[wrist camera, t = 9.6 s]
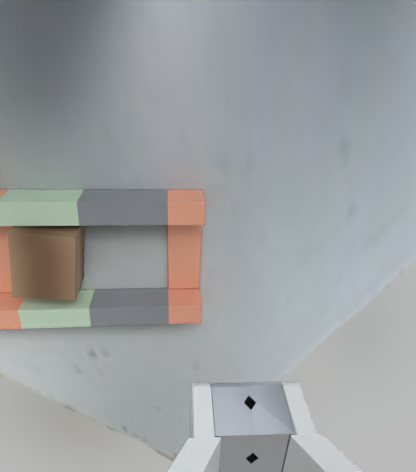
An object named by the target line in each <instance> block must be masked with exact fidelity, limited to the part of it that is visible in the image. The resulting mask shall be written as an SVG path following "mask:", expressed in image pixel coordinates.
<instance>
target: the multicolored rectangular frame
mask: <svg viewBox="0 0 416 472" xmlns="http://www.w3.org/2000/svg"><path fill="white" fill-rule="evenodd" d="M110 225H168V288H141V289H96V290H79V291H78V294H77V297H76V299H75V301H66V300H51V299H36V298H21V297H12V284H11V270H10V257H9V243H8V231H9V230H10V228H11V227H12V226H110ZM201 225H205V199H204V195H203V191H202V190H101V189H0V329H30V328H61V327H93V326H124V325H155V324H187V323H201V311H202V304H201V297H200V289H199V287H200V256H201Z"/></svg>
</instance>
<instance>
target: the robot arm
mask: <svg viewBox="0 0 416 472" xmlns="http://www.w3.org/2000/svg"><path fill="white" fill-rule="evenodd" d="M167 472H362V471H361V470H360V469H359V468H358V467H357V466H356V465H355V464H354V463H353V462H352V461H350V460H349V459H348V458H347V457H346V456H345V455H344V454H343V453H342V452H341V451H340V450H339V449H338V448H337V447H335V445H333V443H331V442H330V441H329V440H328V439H327V438H326V437H325V436H324V435H323V434H317V432H316V429H315V426H314V423H313V421H312V417H311V415H310V412H309V409H308V406H307V404H306V400H305V397H304V394H303V391H302V388H301V386H300V384H299V382H297V381H293V382H279V381H277V382H245V383H192V385H191V410H190V438H188V439H187V440H186V442H185V443H184V445H183V447H182V448H181V450H180V451H179V453H178V455H177V456H176V458H175V459H174V461H173V463H172V464H171V466H170V467H169V469H168V470H167Z"/></svg>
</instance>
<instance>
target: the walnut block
mask: <svg viewBox="0 0 416 472" xmlns="http://www.w3.org/2000/svg"><path fill="white" fill-rule="evenodd" d="M84 227H85V226H12V227H11V228H10V230H9V231H8V243H9V257H10V270H11V284H12V297H21V298H36V299H51V300H66V301H75V299H76V297H77V294H78V291H79V288H80V286H81V283H82V280H83V277H84Z"/></svg>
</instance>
